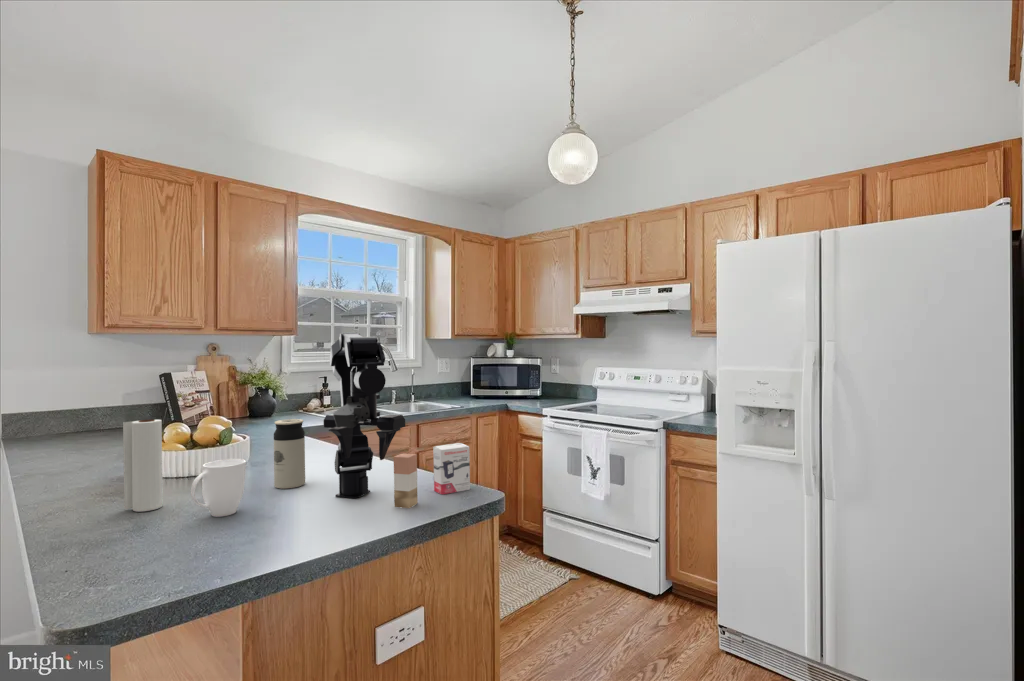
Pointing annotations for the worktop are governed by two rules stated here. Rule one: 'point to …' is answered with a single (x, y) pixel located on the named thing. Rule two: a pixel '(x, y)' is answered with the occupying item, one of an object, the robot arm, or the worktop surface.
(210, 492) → the mug
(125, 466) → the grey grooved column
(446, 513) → the worktop surface
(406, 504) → the oak block
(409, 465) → the terracotta block
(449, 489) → the ink box
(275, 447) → the travel mug
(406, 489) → the cream block
